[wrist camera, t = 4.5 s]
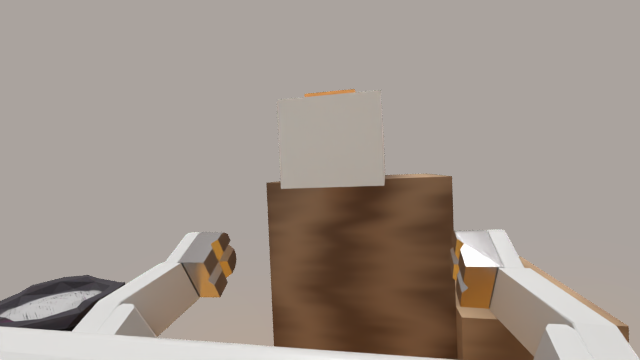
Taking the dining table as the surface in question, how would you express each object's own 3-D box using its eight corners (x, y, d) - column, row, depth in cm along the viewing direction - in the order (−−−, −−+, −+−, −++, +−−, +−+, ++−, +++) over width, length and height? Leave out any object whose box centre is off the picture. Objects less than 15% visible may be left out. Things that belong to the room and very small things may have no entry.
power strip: (385, 174, 35) (383, 141, 35) (384, 185, 11) (380, 82, 11) (349, 176, 36) (348, 143, 36) (281, 188, 12) (276, 93, 12)
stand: (523, 441, 30) (516, 170, 29) (634, 661, 16) (626, 170, 16) (318, 416, 34) (308, 178, 33) (276, 574, 21) (257, 183, 20)
